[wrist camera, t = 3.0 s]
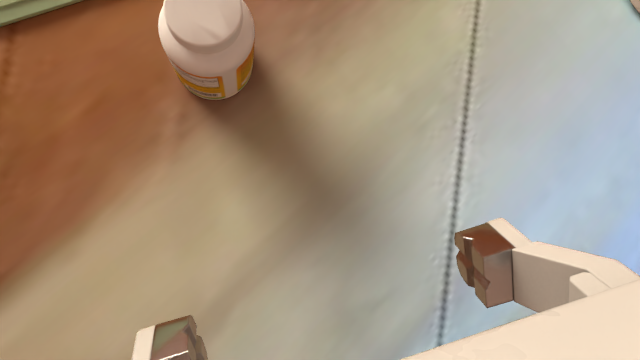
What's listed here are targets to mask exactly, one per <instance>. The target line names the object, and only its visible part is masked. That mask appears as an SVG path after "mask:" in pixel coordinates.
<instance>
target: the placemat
mask: <svg viewBox="0 0 640 360" xmlns="http://www.w3.org/2000/svg"><path fill="white" fill-rule="evenodd" d="M80 1H84V0H0V27H1V26H4V25H7V24H11V23H14V22H17V21H20V20H23V19H26V18H30V17H33V16H36V15H39V14H42V13H45V12H49V11H52V10H55V9H58V8H61V7H65V6H68V5H71V4H74V3H77V2H80Z"/></svg>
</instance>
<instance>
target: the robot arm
mask: <svg viewBox="0 0 640 360" xmlns="http://www.w3.org/2000/svg"><path fill="white" fill-rule="evenodd" d="M630 1H631V3H632V4H633V6H634V7H635V8H636V10H637V11H638V12H639V13H640V0H630ZM454 239H455V245H456V246H457V247H458V248H459V252H458V254H457V256H456V259H457V266H458V269H459V272H460V274H461V276H462V278H463V280H464V281H465V282H466V284H467V285H468V286H471V287H474V288H475V294H476V296H477V297H478V298H479V299H480V300H481V302H482V303H483V304H484V305H485V306H486V307H487V308H489V307H493V306H496V305H499V304H503V303H506V302H509V301H513V300H514V302H517V303H519V304H521V305H523V306H525V307H527V308H530V309H532V310H534V311H536V312H538V313H537V314H534V315H531V316H528V317H525V318H522V319H519V320H516V321H513V322H510V323H507V324H504V325H501V326H498V327H495V328H492V329H489V330H486V331H483V332H480V333H477V334H474V335H471V336H468V337H465V338H463V339H460V340H457V341H454V342H451V343H448V344H445V345H442V346H439V347H436V348H433V349H430V350H427V351H424V352H421V353H418V354H415V355H412V356H409V357H406V358H403V359H400V360H640V276H639V275H638V274H636V273H635V272H633V271H632V270H630V269H629V268H628V267H626V266H625V265H623V264H622V263H621V262H619V261H618V260H615V259H611V258H606V257H602V256H598V255H594V254H589V253H585V252H581V251H577V250H572V249H568V248H564V247H560V246H555V245H551V244H547V243H543V242H538V241H537V242H532V241H530V240H529V239H528V238H527V237H525V236H524V235H523V234H522V233H521V232H519V231H518V230H517V229H516V228H515V227H513V226H512V225H511V224H510V223H508V222H507V221H506V220H505V219H504V218H498V219H495V220H492V221H489V222H486V223H485V224H481V225H478V226H475V227H472V228H469V229H466V230H463V231H460V232H456V233H455V237H454ZM132 360H208V357H207V351H206V348H205V345H204V342H203V340H202V337H200V336H198V335H197V325H196V323H195V321H194V319H193V317H192V316H191V315H188V316H185V317H181V318H178V319H174V320H171V321H167V322H164V323H160V324H157V325H154V326H150V327H147V328H144V329H141V330H139V331H138V332H137V334H136V339H135V345H134V350H133V355H132Z"/></svg>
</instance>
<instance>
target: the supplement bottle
mask: <svg viewBox="0 0 640 360" xmlns="http://www.w3.org/2000/svg"><path fill="white" fill-rule="evenodd" d="M158 30H159V36H160V40H161V43H162V46H163V48H164V50H165V52H166V54H167V56H168V58H169V60H170V62H171V64H172V66H173V68H174V70H175V72H176V74H177V76H178V77H179V79H180V81H181V82H182V84H183V85H184V86H185V87H186V88H187V89H188V90H189V91H191V92H192V93H193V94H195V95H197V96H199V97H202V98H205V99H210V100H220V99H225V98H228V97H231V96H233V95H235V94H236V93H238V92H239V91H240V90H241V89H242V88H243V87H244V86H245V85H246V83H247V82H248V80H249V78H250V76H251V73H252V68H253V54H254V39H255V29H254V22H253V17H252V15H251V12H250V10H249V8H248V7H247V5H246V4H245V2H244V1H243V0H164V5H163V7H162V9H161V12H160V16H159V22H158Z"/></svg>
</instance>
